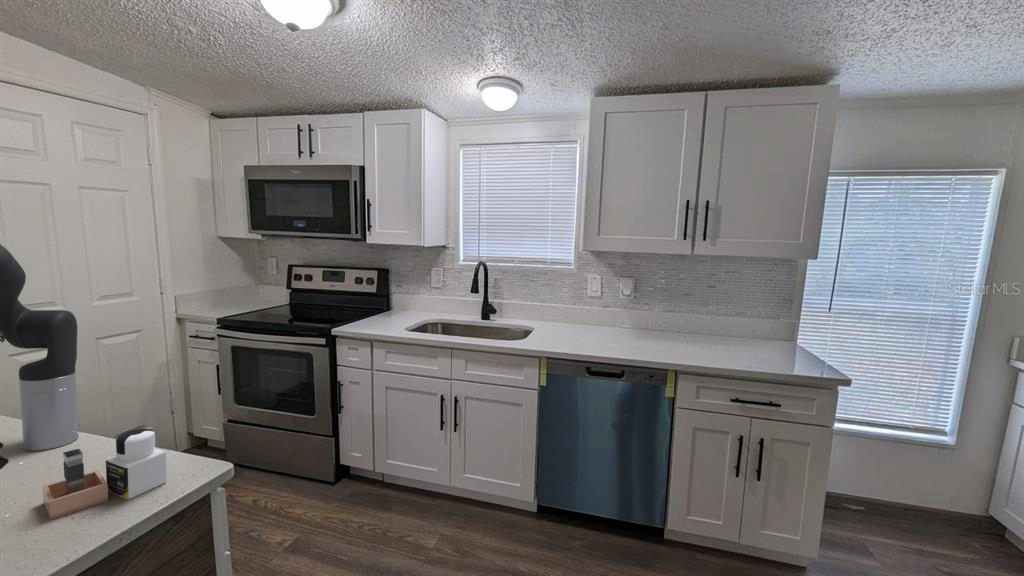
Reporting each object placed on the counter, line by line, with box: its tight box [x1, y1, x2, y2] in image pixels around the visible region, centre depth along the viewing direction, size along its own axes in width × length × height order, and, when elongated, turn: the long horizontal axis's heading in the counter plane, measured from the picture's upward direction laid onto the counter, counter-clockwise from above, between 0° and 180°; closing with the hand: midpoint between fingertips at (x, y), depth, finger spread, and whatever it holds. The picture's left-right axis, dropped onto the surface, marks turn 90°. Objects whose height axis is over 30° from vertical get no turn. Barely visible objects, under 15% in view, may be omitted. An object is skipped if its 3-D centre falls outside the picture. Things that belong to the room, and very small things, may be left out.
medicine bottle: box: [105, 428, 168, 501], centre depth 88 cm, size 7×7×12 cm
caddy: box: [42, 469, 109, 521], centre depth 82 cm, size 8×8×4 cm
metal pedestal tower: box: [58, 448, 88, 498], centre depth 82 cm, size 4×4×10 cm
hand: (0, 457), depth 74 cm, fingers open, 8 cm apart
